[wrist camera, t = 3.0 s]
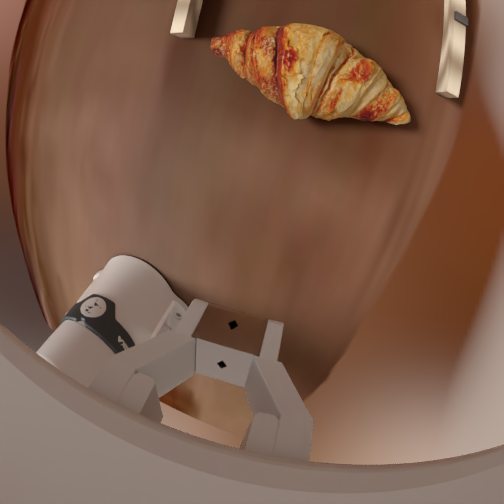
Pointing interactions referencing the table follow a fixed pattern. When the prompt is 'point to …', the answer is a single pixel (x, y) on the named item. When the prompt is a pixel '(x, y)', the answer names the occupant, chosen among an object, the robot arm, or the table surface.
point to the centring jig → (450, 52)
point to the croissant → (312, 73)
